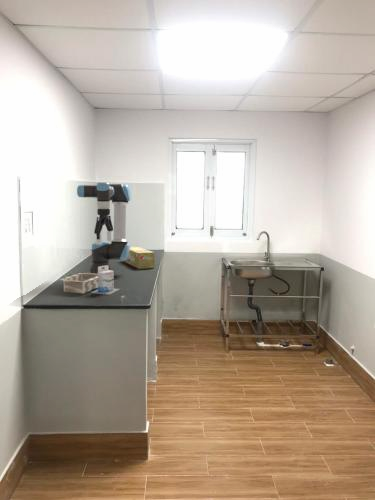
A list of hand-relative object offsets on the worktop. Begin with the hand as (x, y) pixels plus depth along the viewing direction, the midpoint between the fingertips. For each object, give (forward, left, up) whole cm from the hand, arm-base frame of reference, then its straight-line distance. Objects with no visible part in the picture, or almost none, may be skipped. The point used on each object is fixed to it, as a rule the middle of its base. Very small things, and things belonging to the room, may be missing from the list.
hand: (104, 243), depth 258 cm
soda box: (-85, -13, -28) cm, 90 cm away
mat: (+10, +6, -28) cm, 30 cm away
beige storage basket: (+8, -10, -28) cm, 31 cm away
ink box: (+9, +5, -28) cm, 30 cm away
